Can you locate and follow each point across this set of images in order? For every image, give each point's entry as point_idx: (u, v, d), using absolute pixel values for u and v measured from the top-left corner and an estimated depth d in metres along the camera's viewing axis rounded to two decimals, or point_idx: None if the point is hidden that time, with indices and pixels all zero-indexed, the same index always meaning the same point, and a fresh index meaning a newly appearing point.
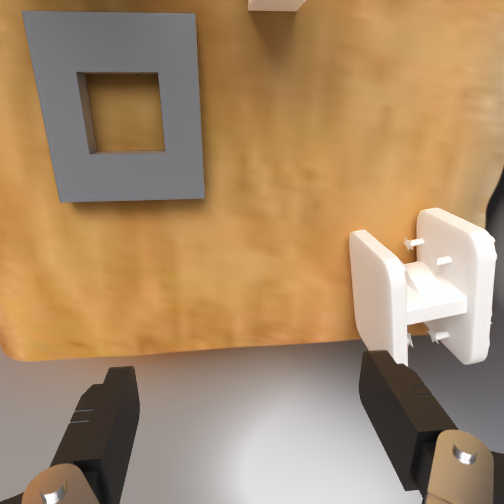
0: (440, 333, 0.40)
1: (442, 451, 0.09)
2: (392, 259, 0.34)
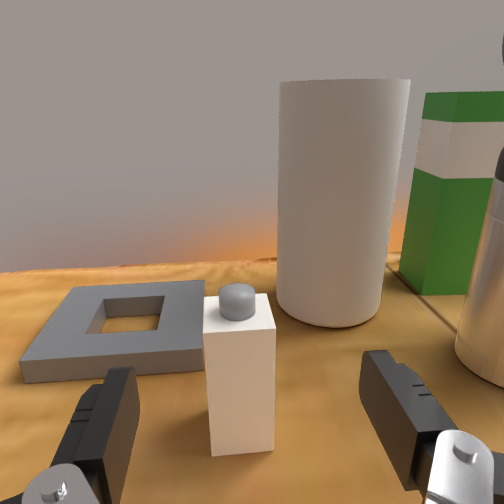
0: None
1: (442, 451, 0.09)
2: None
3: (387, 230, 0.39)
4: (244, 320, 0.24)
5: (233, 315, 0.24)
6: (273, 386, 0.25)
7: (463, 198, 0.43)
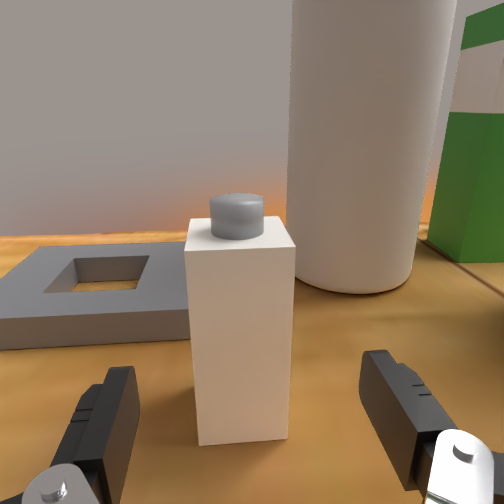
0: None
1: (442, 451, 0.09)
2: None
3: (426, 170, 0.31)
4: (247, 239, 0.16)
5: (231, 230, 0.16)
6: (288, 340, 0.17)
7: None
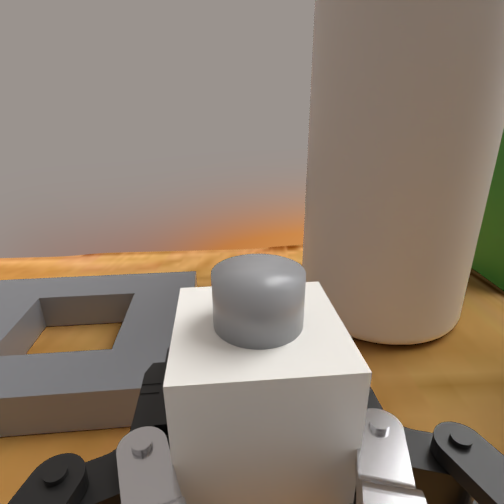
0: None
1: None
2: None
3: (489, 189, 0.24)
4: (278, 346, 0.09)
5: (250, 334, 0.09)
6: None
7: None
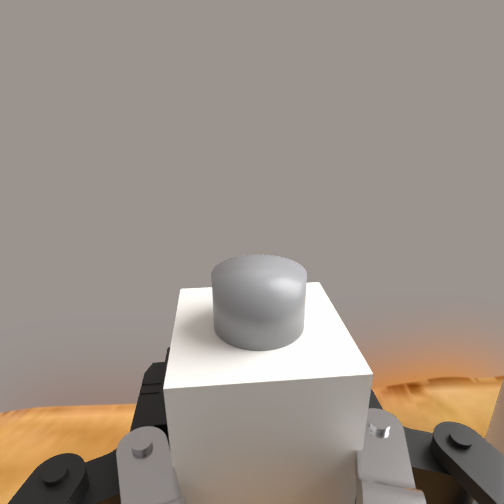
0: None
1: None
2: None
3: None
4: (279, 347, 0.09)
5: (250, 335, 0.09)
6: None
7: None
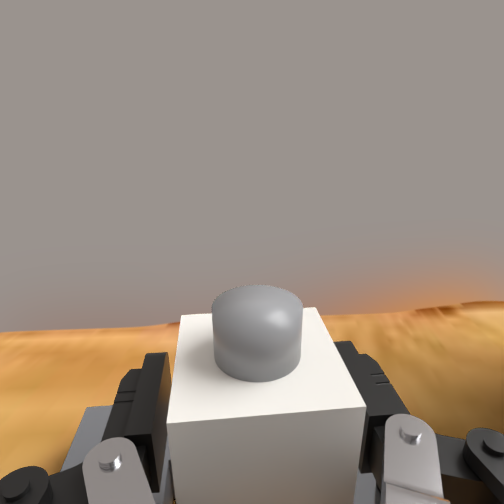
0: None
1: (388, 433, 0.09)
2: None
3: None
4: (276, 378, 0.09)
5: (249, 367, 0.09)
6: None
7: None
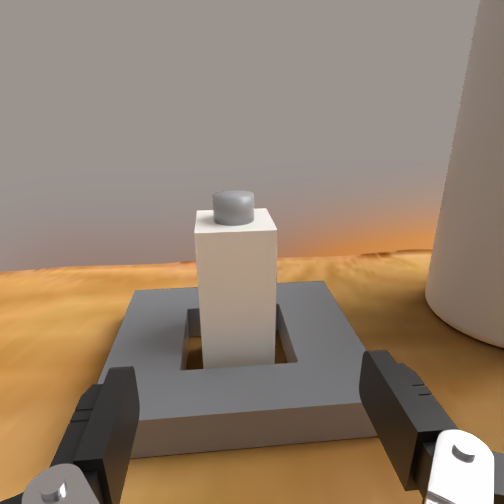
0: None
1: (442, 451, 0.09)
2: None
3: None
4: (241, 225, 0.21)
5: (229, 218, 0.21)
6: (273, 302, 0.22)
7: None
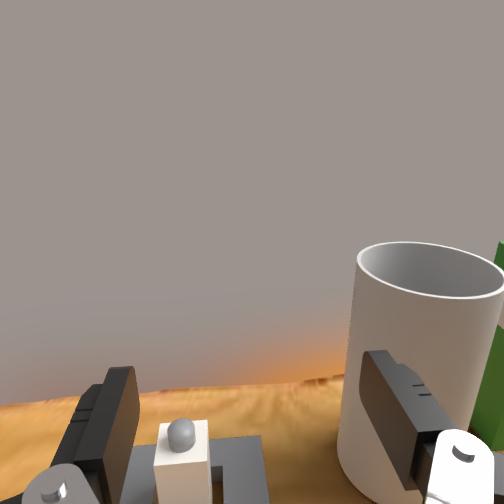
0: None
1: (442, 451, 0.09)
2: None
3: None
4: (185, 451, 0.33)
5: (177, 449, 0.33)
6: (208, 497, 0.34)
7: None
